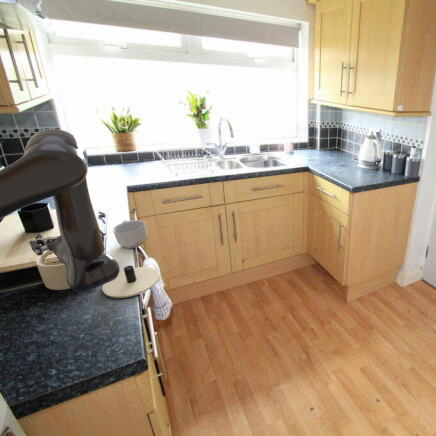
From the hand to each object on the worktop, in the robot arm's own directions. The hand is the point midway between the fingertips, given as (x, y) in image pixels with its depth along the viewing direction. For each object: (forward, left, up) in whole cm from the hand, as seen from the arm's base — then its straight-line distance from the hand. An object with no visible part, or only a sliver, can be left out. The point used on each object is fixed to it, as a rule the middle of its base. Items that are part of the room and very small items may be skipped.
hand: (57, 232), depth 97 cm
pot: (0, -1, -16) cm, 16 cm away
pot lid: (+11, -19, -15) cm, 27 cm away
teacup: (+22, +9, -16) cm, 29 cm away
